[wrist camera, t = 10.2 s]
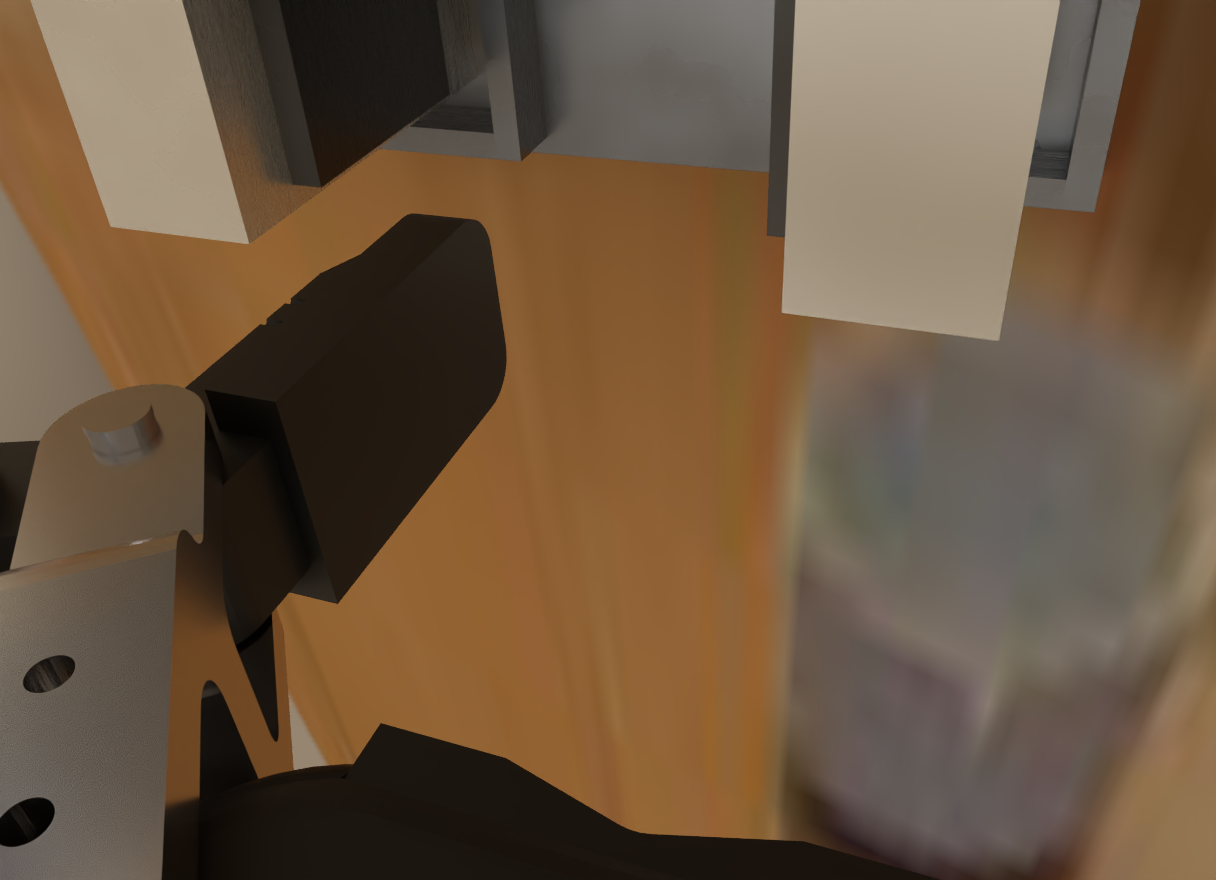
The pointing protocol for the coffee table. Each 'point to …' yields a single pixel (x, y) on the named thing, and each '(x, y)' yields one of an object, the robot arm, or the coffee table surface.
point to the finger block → (904, 156)
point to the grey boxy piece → (467, 94)
